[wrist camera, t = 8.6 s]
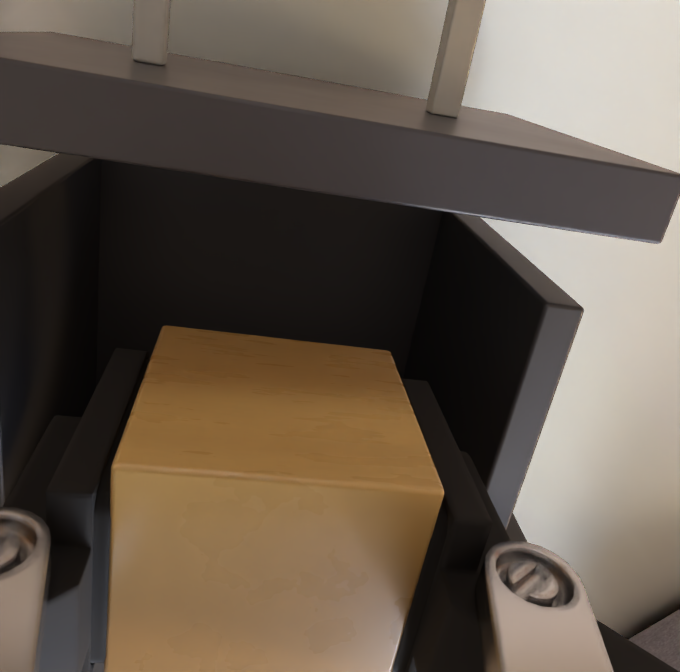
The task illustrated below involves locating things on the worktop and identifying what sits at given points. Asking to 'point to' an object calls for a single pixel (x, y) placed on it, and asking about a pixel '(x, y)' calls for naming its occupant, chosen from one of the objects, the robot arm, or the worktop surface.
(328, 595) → the block
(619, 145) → the worktop surface
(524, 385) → the grey drawer with handle
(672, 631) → the soft grey pack
